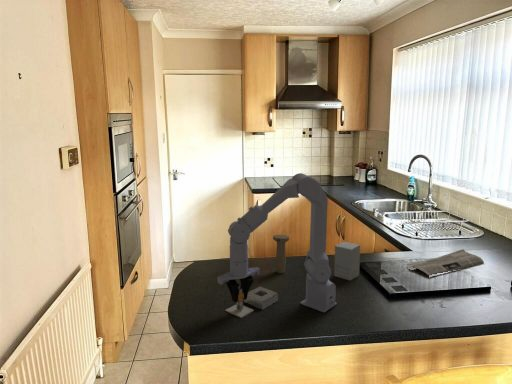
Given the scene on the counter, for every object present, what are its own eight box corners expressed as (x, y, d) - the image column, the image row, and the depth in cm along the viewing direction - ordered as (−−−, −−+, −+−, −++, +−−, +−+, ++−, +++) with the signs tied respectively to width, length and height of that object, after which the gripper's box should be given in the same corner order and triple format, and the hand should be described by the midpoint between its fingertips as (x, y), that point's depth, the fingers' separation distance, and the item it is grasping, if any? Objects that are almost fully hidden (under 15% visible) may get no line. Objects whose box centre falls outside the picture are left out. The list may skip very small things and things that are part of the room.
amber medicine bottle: (244, 305, 127) (244, 285, 126) (244, 310, 124) (244, 289, 123) (235, 306, 127) (235, 285, 126) (235, 310, 124) (234, 289, 123)
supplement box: (359, 275, 154) (361, 245, 152) (350, 281, 149) (351, 249, 147) (343, 270, 159) (344, 241, 157) (333, 276, 154) (334, 245, 152)
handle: (275, 268, 162) (275, 234, 159) (290, 271, 159) (290, 235, 156) (271, 272, 157) (271, 237, 155) (286, 275, 155) (286, 239, 152)
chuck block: (277, 301, 133) (277, 292, 132) (262, 309, 127) (262, 301, 126) (259, 294, 138) (259, 286, 138) (244, 302, 132) (244, 293, 132)
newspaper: (428, 279, 151) (429, 271, 151) (403, 269, 162) (403, 261, 162) (485, 264, 167) (486, 256, 166) (459, 255, 178) (459, 248, 177)
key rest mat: (253, 311, 126) (253, 309, 126) (241, 318, 122) (241, 316, 122) (238, 304, 131) (238, 303, 131) (225, 310, 126) (225, 309, 126)
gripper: (251, 251, 130) (251, 289, 133) (212, 260, 122) (213, 300, 125) (263, 257, 124) (263, 297, 127) (223, 267, 117) (224, 309, 119)
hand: (239, 299), depth 125 cm, fingers closed on amber medicine bottle, 3 cm apart
